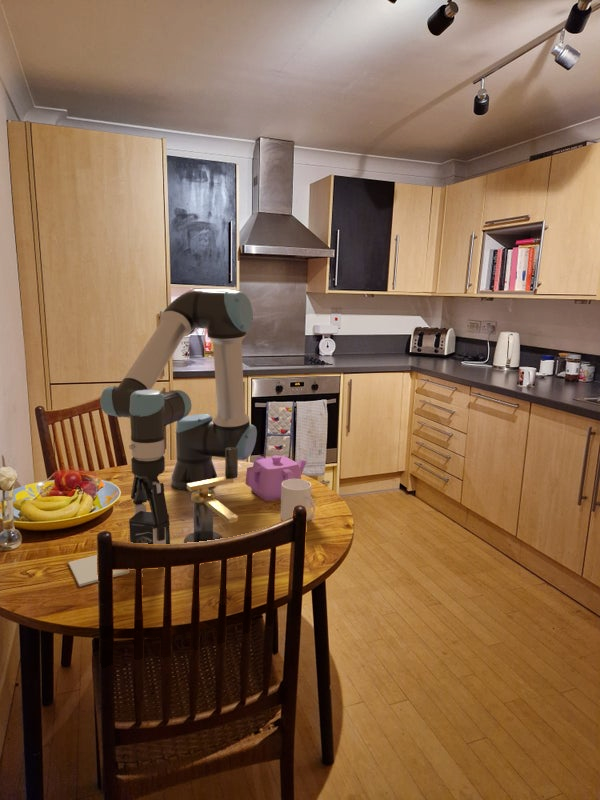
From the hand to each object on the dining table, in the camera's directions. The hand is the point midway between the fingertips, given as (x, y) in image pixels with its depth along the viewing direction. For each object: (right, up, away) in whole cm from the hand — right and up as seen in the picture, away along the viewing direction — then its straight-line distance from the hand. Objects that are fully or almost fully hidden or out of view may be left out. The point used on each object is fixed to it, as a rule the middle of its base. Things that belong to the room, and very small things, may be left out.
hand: (149, 539), depth 125 cm
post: (+11, -3, +9) cm, 15 cm away
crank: (+18, +8, +3) cm, 20 cm away
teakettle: (+29, +4, +45) cm, 53 cm away
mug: (+36, -1, +24) cm, 43 cm away
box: (0, -5, +1) cm, 5 cm away
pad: (-10, -5, -5) cm, 13 cm away
